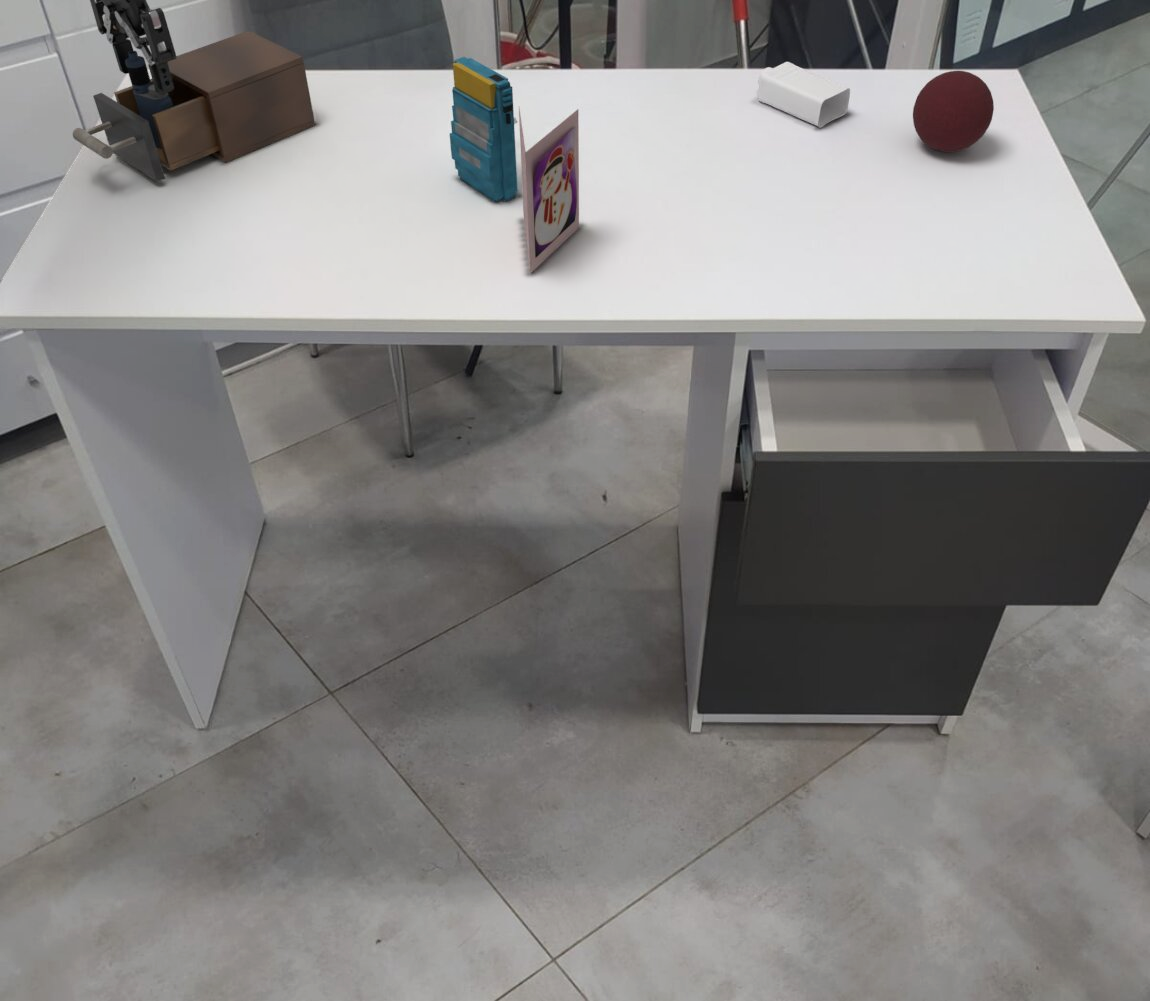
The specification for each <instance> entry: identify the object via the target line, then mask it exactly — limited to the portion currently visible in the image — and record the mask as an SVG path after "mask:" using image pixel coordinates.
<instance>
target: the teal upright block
mask: <svg viewBox="0 0 1150 1001" xmlns="http://www.w3.org/2000/svg"><path fill="white" fill-rule="evenodd" d="M452 72H453V83H454V84H453V85H454V86H453V87H452V92H451V93H452V101H453V103H452V104H453V105H451V110H452V118H453V119H452V120H451V121H450V127H451V132H450V133H449V142H450V143H449V144H450V154H451V159H452V160H454V169H455V170H457V176H459V179H460V180H461V181H462V182H464V183H465V184H467V185H468V186H470V187H471V188H473V189H474V190H476V191H477V192H479V193H480V194H482V195H483V196H485V197H487V198H488V199H489V200H491V201H492V202H494V203H496V202H499V201H501V200H503V201H505V202H508V201H511V200H513V199H515V198H516V193H517V192H518V172H517V154H516V153H517V152H516V133H515V132H516V131H515V124H514V118H515V116H514V115H515V112H514V96H513V95H514V93H513V86H511V82H510V81H509V78H508V77H506V76H504V75H503V74H500V73H499V72H497V71H495V70H494V69H492V68H490V67H488V66H486V65H484V64H483V63H481V62H480V61H477V60H475V59H473V58H472V57H469V58H467V57H466V56H462V57H459V58H457V59H454V60H453V63H452Z"/></svg>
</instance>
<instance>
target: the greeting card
mask: <svg viewBox="0 0 1150 1001" xmlns="http://www.w3.org/2000/svg"><path fill="white" fill-rule="evenodd" d="M520 108H521V107H518V119H519V120H518V122H519V144H520V145H519V146H520V165H521V185H522V186H521V188H522V207H523V208H522V210H523V225H524V233H525V241H526V248H527V256H528V264H529V273H530V274H532V273H533V272H534V271H536V269H537V268H539V267H540V265H542V263H544V262H545V261H546V260H547V259H548V258H549V257H550V256H551V255H552V254H553V253H554V252H555V251H556V250H557V249H558V248H559V247H560V246H561V245H563V243H565V241H566V240H568V239H569V237H570V236H571V235H572V234H574V233H575V232H576V231H577V230H578V229H579V228H580V164H579V162H580V156H579V155H580V154H579V153H580V152H579V149H580V148H579V146H580V144H579V141H580V140H579V139H580V138H579V133H580V132H579V126H580V125H579V108H577V109H575V111H573V113H571V114H570V115H569V116H568V117H566V118H565V119H563V121H562V122H560V123H559V124H558V125H557V126H555V127H554V128H552V130H551V131H549V132H548V133H547V134H546V135H545V136H543V137H542V138H541V139H539V141H538V142H537V141H536V143H534V145H533V146H531V147H530V148H529V149H528V150H527V151H526V144H525V136H524V130H523V121H522V115H521V109H520Z"/></svg>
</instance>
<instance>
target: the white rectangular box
mask: <svg viewBox="0 0 1150 1001" xmlns="http://www.w3.org/2000/svg"><path fill="white" fill-rule="evenodd" d="M757 86H758V87H757V94H756V95H757V97H756V99H757V100H758V101H759V102H761V103H763V104H767V105H769V106H770V107H773V108H775V109H778V110H779V111H781V112H785V113H787V114H789V115H791V116H794V117H796V118H797V119H800V120H803V121H805V122H807V123H809V124H812V125H814V126H816V127H818V128H819V129H821V128H823V127H824V126H826V125H827V124H829V123H830V122H832V121H835V120H836V119H840V118H842V116H845V115H846V114H847V112H848V110H849V102H850V97H851V88H849V87H846V86H844V85H842V84H839V83H837V82H835V81H832V80H830V79H828V78H826V77H823V76H820V75H818V74H816V73H814V72H812V71H809V70H807V69H805V68H803V67H801V66H797V65H796V64H794V63H792V62H790V61H785V62H783V63H781V64H779V65H777V66H774V67H770V66H768V67H767V66H766V67H765V68H764V69H763V70H761V72H760V74H759V76H758V80H757Z"/></svg>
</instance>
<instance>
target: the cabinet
mask: <svg viewBox="0 0 1150 1001" xmlns="http://www.w3.org/2000/svg"><path fill="white" fill-rule="evenodd" d="M304 62H305V61H304V57H303V56H302V55H300V54H297V53H295V52H294V51H292V50H290V49H287V48H285V47H284V46H281V45H279V44H277V43H275V42H273V41H271V40H269V39H266V38H265V37H262V36H261V35H259V34H256V33H254V32H252V31H250V30H247V31H243V32H241V33H238V34H234V35H232V36H229V37H227V38H223V39H221V40H218V41H216V42H213V43H209V44H207V45H204V46H202V47H199V48H195V49H193V50H190V51H186V52H184V53H182V54H179V55H176V59H174V60H171V61H168V66H169V70H170V73H171V77H172V78H173V79H175V80H177V81H179V82H181V83H182V84H184V85H186V86H188V87H190V88H191V89H193V90H195V91H197V92H199V93H201V94H202V95H204V96H206V98H207V102H208V106H209V110H210V114H211V117H212V121H213V125H214V129H215V133H216V137H217V141H218V145H219V149H220V150H219V151H217V152H214V153H212V154H211V155H212V156H213V157H215V158H217V159H218V160H220V161H221V162H223V163H225V164H226V163H229V162H231V161H234V160H236V159H238V158H241V157H243V156H245V155H248V154H250V153H253V152H255V151H257V150H260V149H262V148H264V147H267V146H270V145H271V144H273V143H277V142H278V141H281V140H284V139H286V138H289V137H291V136H293V135H295V134H297V133H300V132H302V131H305V130H307V129H310V128H311V127H314V126H316V121H315V115H314V110H313V105H312V100H311V94H310V89H309V83H308V78H307V77H308V76H307V72H306V67H305V63H304Z"/></svg>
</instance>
